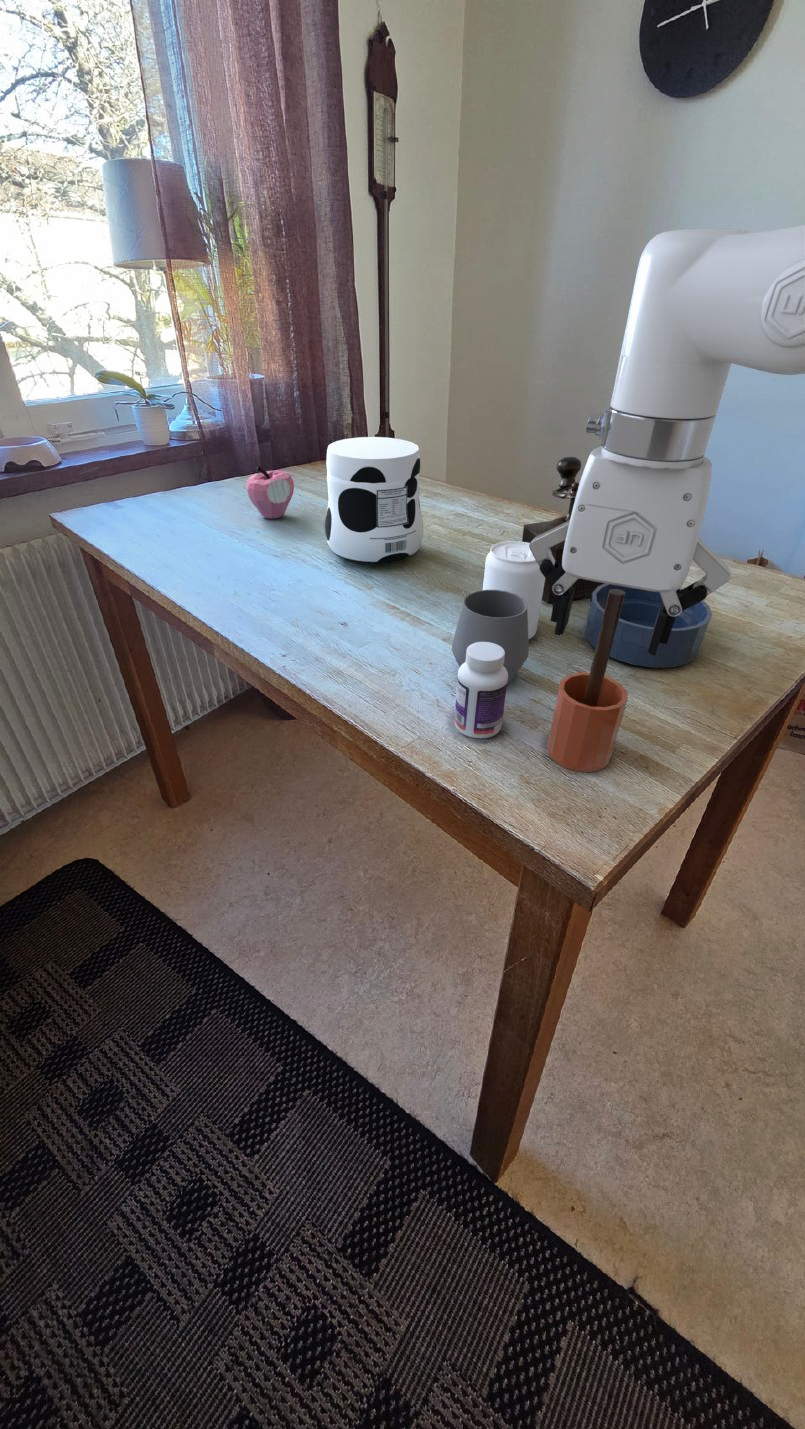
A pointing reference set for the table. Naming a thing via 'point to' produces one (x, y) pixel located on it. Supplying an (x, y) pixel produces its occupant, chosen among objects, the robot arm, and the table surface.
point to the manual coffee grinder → (568, 472)
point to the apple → (270, 492)
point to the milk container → (373, 500)
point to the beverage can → (516, 576)
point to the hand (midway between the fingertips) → (606, 637)
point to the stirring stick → (603, 646)
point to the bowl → (648, 628)
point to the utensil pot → (585, 724)
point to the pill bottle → (481, 691)
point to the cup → (494, 626)
